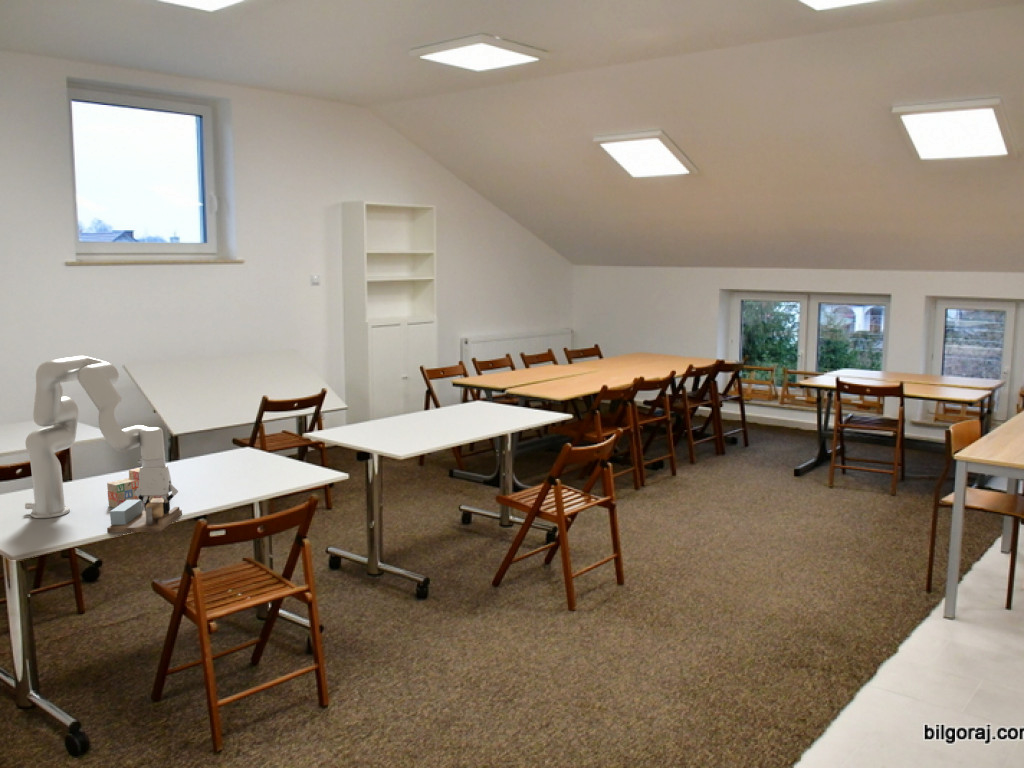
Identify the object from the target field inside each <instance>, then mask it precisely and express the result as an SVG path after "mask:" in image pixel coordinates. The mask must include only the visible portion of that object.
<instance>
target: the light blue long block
mask: <svg viewBox="0 0 1024 768" xmlns="http://www.w3.org/2000/svg"><path fill="white" fill-rule="evenodd" d="M142 505H143V502H141V500H126V501H125V502H123V503H122V504H120V505H119V506H117V507H116V508H114V507H113V508H112V509H111V510H110V511H109V516H110V526H111V525H126V524H127V523H128V522H130V521H131V520H133V519H134V518H135V517H137V516H138V515H139V514H141V513H142V511H143V506H142Z"/></svg>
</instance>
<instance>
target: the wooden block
mask: <svg viewBox="0 0 1024 768" xmlns="http://www.w3.org/2000/svg"><path fill="white" fill-rule="evenodd" d="M163 503H164V499H163V498H153V499H152V500H150V502H149V503H148V504H147V505H146V507H152V518H160V517H162V516H163V515H164V509H163Z"/></svg>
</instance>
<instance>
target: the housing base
mask: <svg viewBox="0 0 1024 768" xmlns="http://www.w3.org/2000/svg"><path fill="white" fill-rule="evenodd" d="M161 498H163V497H162V496H161ZM181 515H183V510H182V509H180V506H174V507H173V508H172V509H170V510H169V512H168V513H167V514H164V515H163V516H162V517H160V518H152V507H146V508H145V507H144V510H142V513H141V514H139V515H138V516H137V517H135V518H134V519H133V520H131V521H130V522H128V523H127V524H126V525H111V524H110V526H108V527H107V528H106V531H107V533H140V532H141V533H143V532H145V533H146V532H147V533H148V532H149V533H151V532H152V533H153V532H158V533H159V532H162V531H163V530H164V529H166V528H167V527H168V526H170V524H172V523H173V522H174V521H175V520H176V519H178V518H179V517H180V516H181Z"/></svg>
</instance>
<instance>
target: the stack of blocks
mask: <svg viewBox="0 0 1024 768" xmlns="http://www.w3.org/2000/svg"><path fill="white" fill-rule="evenodd" d="M139 471H140V467H136V468H132V469H128V477H126V478H123V479H118V480H114V481H109V482H107V483H106V484H107V485H106V486H107V488H106V489H107V500H108V507H111V508H113V509H114V508H116V507H117V506H119V505H120V504H122V503H123V502H125V501H126V500H140V499H139V497H137V496H136V495H135V494H134V492H135V491H136V489H137V488H138V487H139ZM153 498H161V496H150V499H149V501H151V500H152V499H153ZM141 502H142V503H143V501H142V500H141Z"/></svg>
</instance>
